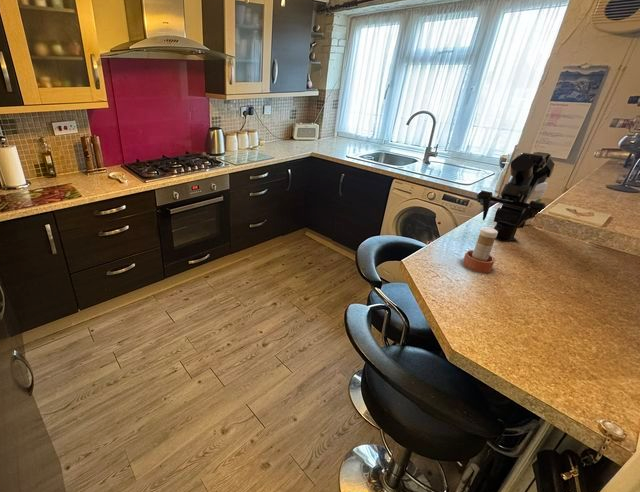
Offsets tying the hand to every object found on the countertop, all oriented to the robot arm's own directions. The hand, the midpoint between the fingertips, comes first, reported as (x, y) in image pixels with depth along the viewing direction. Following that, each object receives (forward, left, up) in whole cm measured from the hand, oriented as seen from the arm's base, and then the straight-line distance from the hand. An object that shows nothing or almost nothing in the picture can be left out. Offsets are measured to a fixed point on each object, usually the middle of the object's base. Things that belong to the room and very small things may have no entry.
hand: (498, 223), depth 112 cm
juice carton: (-33, -26, -12) cm, 44 cm away
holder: (+10, +8, -12) cm, 18 cm away
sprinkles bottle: (+10, +8, -12) cm, 17 cm away
